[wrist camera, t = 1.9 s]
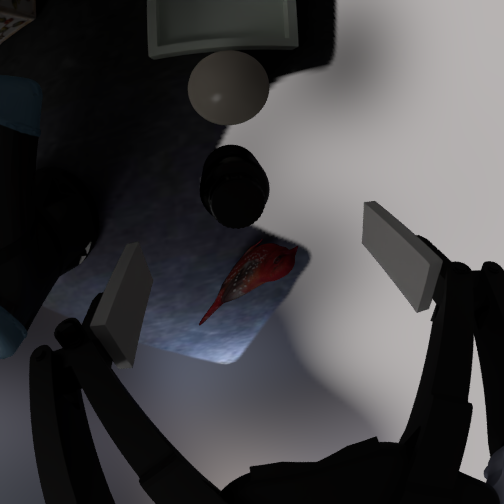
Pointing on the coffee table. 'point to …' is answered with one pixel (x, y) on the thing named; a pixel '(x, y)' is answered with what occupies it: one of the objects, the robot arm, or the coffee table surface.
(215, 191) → the supplement bottle
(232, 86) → the cream canister
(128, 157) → the coffee table surface
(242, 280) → the decorative bird figurine
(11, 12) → the decorative jar
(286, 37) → the sage tray
